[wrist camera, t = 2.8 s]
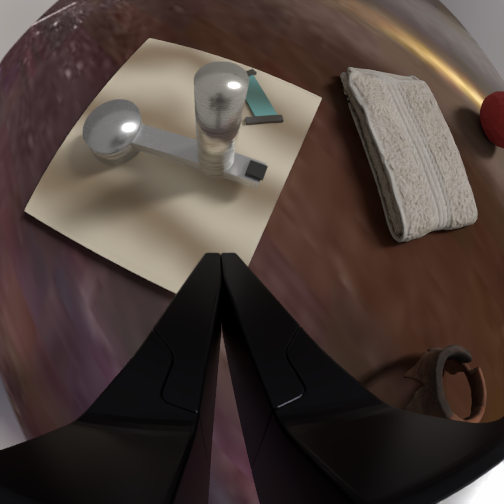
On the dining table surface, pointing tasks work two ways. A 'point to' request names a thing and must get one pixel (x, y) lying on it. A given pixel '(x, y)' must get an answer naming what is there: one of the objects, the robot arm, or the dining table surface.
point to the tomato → (493, 118)
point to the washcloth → (409, 153)
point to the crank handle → (177, 146)
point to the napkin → (173, 172)
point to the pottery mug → (432, 393)
